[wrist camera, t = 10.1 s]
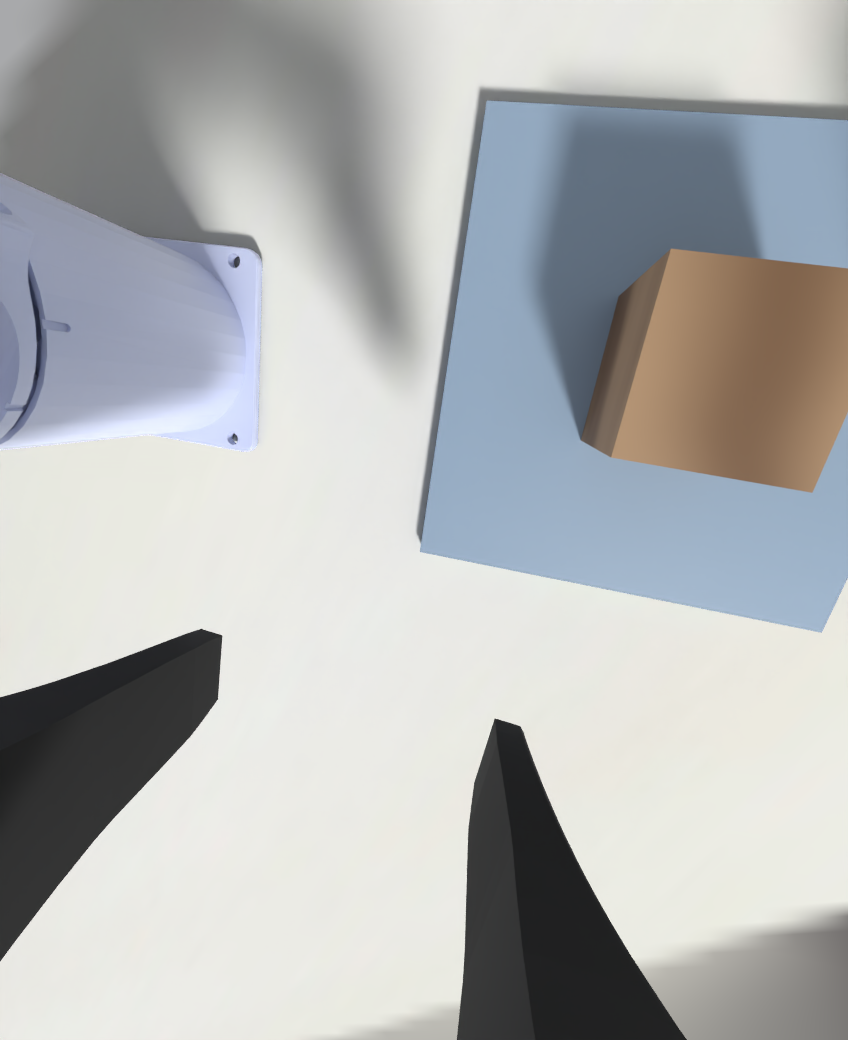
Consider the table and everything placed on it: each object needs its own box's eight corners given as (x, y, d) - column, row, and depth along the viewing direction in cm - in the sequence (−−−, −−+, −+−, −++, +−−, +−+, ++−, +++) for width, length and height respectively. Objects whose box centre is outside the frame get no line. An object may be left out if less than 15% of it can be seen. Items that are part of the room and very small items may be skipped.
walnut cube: (580, 440, 16) (611, 457, 12) (618, 296, 15) (670, 248, 10) (720, 464, 16) (812, 492, 11) (774, 316, 14) (908, 274, 9)
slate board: (422, 547, 19) (419, 551, 19) (487, 111, 15) (486, 100, 14) (811, 624, 17) (821, 632, 17) (1034, 143, 12) (1059, 131, 12)
